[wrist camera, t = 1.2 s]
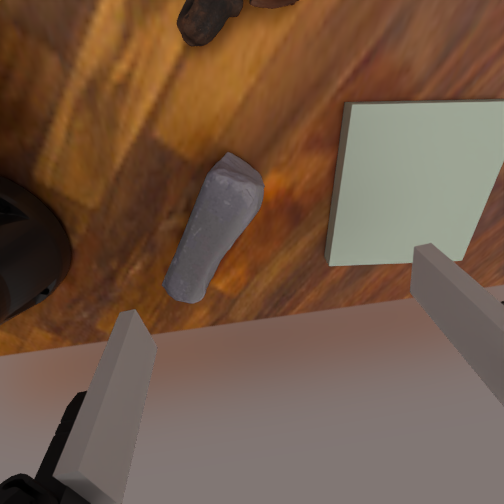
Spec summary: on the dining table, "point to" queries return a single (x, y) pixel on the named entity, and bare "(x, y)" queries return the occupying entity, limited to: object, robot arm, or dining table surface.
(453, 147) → the base
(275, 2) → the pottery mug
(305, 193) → the dining table surface
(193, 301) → the stone block
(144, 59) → the dining table surface
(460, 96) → the dining table surface
